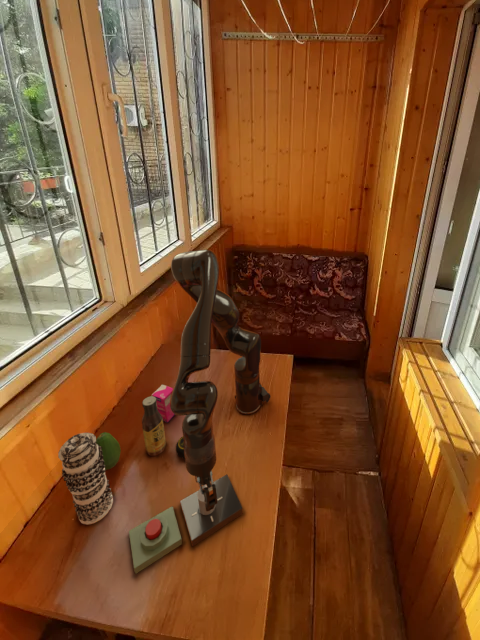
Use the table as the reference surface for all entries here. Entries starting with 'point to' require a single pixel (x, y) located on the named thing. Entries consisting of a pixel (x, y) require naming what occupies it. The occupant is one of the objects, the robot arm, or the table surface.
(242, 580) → the table surface
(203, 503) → the stove knob
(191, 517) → the hob panel
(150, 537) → the power button
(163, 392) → the supplement box
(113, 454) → the avocado
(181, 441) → the tape measure
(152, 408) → the sauce bottle
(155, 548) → the block
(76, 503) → the decorative candle
